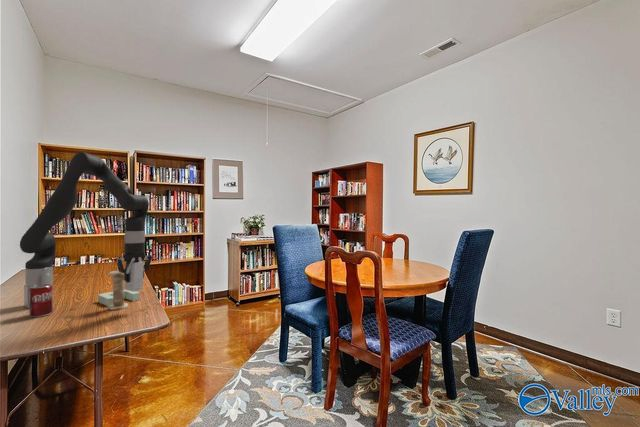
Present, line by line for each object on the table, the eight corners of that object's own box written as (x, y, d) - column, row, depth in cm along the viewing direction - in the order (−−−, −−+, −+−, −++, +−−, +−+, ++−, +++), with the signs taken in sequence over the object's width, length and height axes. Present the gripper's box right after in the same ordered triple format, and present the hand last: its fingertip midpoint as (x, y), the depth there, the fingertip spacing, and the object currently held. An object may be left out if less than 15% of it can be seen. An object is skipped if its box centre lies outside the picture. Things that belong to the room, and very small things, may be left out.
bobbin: (113, 311, 133) (113, 274, 133) (106, 308, 137) (106, 272, 137) (130, 307, 139) (130, 271, 139) (123, 304, 143) (123, 269, 143)
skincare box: (143, 289, 134) (143, 262, 134) (133, 292, 130) (134, 263, 130) (134, 288, 136) (134, 260, 136) (124, 290, 132) (125, 262, 132)
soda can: (57, 312, 131) (57, 284, 130) (36, 318, 124) (36, 288, 123) (45, 311, 133) (45, 283, 133) (25, 316, 126) (24, 287, 126)
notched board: (108, 306, 139) (108, 298, 139) (97, 301, 146) (97, 294, 146) (140, 299, 150) (140, 292, 150) (128, 295, 157) (128, 288, 157)
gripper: (147, 239, 141) (147, 277, 141) (112, 241, 129) (111, 282, 129) (156, 240, 136) (155, 279, 137) (119, 243, 125) (119, 285, 125)
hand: (134, 280), depth 133 cm, fingers closed on skincare box, 4 cm apart
